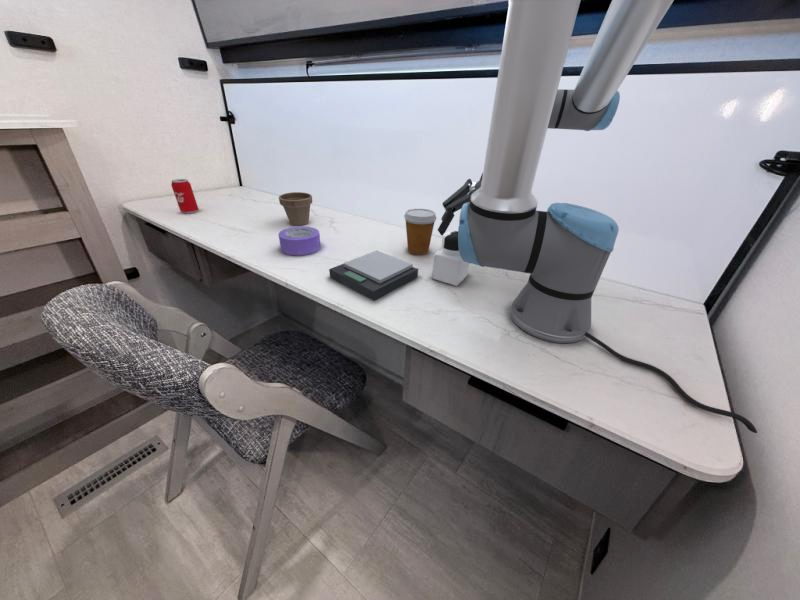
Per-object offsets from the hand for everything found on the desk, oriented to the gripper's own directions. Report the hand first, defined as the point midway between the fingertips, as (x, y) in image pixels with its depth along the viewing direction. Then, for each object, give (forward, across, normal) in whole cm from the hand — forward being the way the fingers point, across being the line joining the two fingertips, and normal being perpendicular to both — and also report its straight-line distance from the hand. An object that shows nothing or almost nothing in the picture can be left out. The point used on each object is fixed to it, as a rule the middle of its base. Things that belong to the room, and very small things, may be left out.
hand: (462, 239), depth 77 cm
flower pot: (+12, +65, -2) cm, 66 cm away
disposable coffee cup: (+4, +17, -10) cm, 20 cm away
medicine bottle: (+10, 0, -4) cm, 10 cm away
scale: (+19, +14, +6) cm, 25 cm away
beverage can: (+28, +107, +14) cm, 111 cm away
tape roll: (+21, +44, +7) cm, 49 cm away
